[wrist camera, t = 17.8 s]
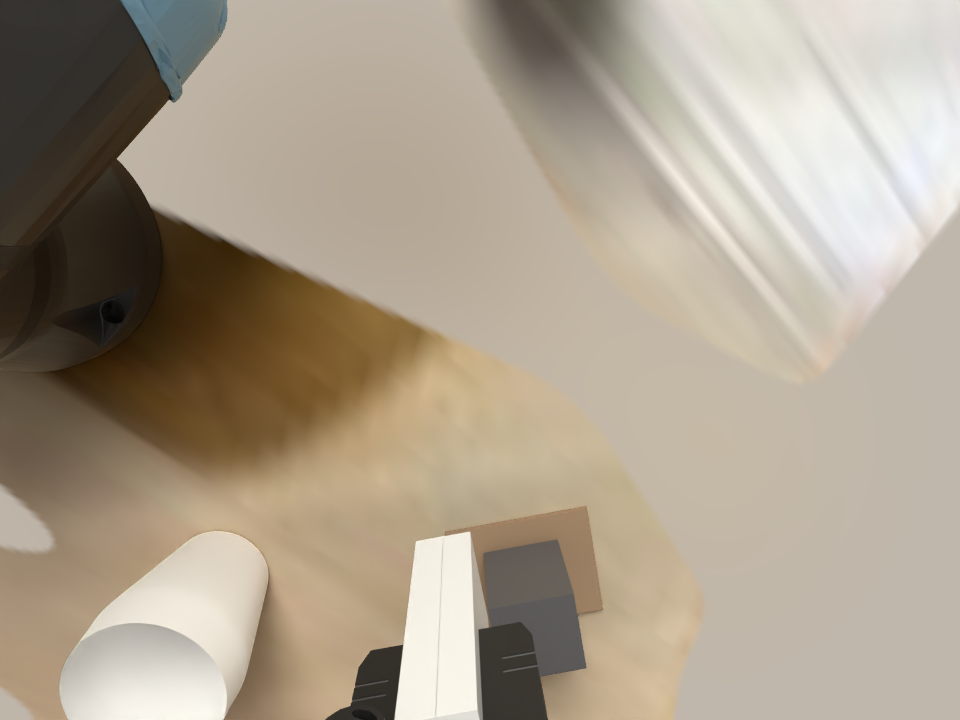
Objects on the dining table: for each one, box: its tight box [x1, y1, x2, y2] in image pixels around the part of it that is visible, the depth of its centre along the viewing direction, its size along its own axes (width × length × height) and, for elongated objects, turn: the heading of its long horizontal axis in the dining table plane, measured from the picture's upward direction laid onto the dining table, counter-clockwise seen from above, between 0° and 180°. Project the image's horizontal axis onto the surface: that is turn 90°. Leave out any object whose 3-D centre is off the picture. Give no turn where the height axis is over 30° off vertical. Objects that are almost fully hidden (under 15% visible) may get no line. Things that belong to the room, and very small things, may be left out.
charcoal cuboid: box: [483, 539, 586, 676], centre depth 43 cm, size 5×5×7 cm
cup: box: [59, 531, 269, 720], centre depth 41 cm, size 9×9×12 cm
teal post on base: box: [445, 506, 603, 627], centre depth 44 cm, size 10×8×7 cm
